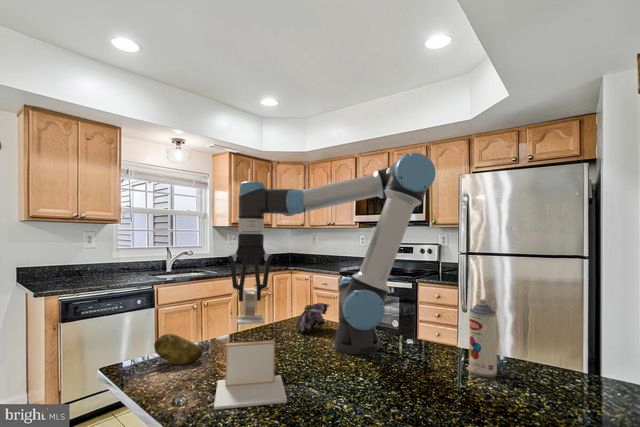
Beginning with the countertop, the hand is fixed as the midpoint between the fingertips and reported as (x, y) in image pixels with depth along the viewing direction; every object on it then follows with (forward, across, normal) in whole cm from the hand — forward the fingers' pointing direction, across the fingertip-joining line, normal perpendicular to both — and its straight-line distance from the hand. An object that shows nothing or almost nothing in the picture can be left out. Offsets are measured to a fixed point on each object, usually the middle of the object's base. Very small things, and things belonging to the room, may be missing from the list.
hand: (249, 311), depth 107 cm
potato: (+15, -20, +3) cm, 25 cm away
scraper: (0, 0, -3) cm, 3 cm away
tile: (+14, 0, -17) cm, 22 cm away
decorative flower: (+15, +26, +28) cm, 41 cm away
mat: (+15, 0, -20) cm, 25 cm away
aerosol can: (+14, +64, -21) cm, 68 cm away
